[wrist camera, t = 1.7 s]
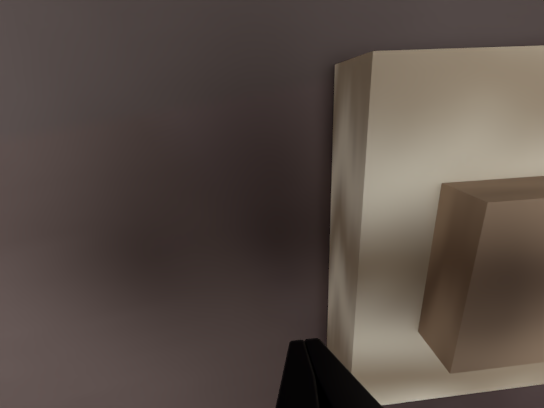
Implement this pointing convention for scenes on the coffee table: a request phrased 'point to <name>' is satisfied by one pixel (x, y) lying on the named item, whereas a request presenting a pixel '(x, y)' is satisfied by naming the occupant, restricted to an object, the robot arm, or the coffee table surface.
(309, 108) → the coffee table surface
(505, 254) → the walnut tile
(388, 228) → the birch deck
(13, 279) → the coffee table surface
